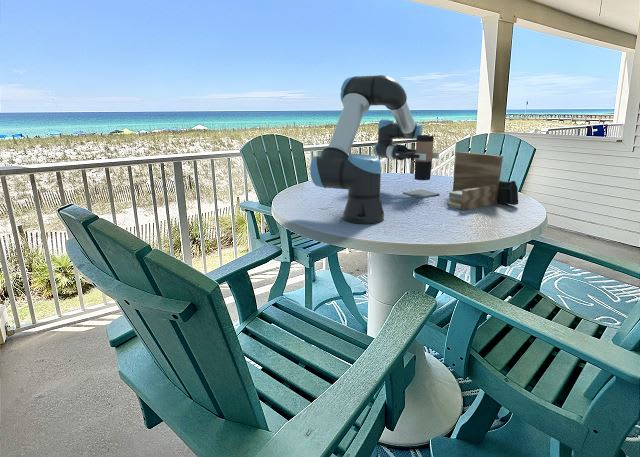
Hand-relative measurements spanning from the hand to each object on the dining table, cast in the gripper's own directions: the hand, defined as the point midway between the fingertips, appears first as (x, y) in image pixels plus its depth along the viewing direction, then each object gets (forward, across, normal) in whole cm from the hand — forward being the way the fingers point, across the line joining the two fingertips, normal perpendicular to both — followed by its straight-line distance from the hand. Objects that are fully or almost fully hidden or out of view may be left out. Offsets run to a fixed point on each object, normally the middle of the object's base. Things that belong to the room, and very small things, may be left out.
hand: (431, 156), depth 167 cm
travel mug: (-5, 0, -11) cm, 12 cm away
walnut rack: (+15, -2, -18) cm, 24 cm away
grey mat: (-5, 0, -18) cm, 19 cm away
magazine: (+20, -18, -19) cm, 32 cm away
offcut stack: (+20, -1, -19) cm, 27 cm away
